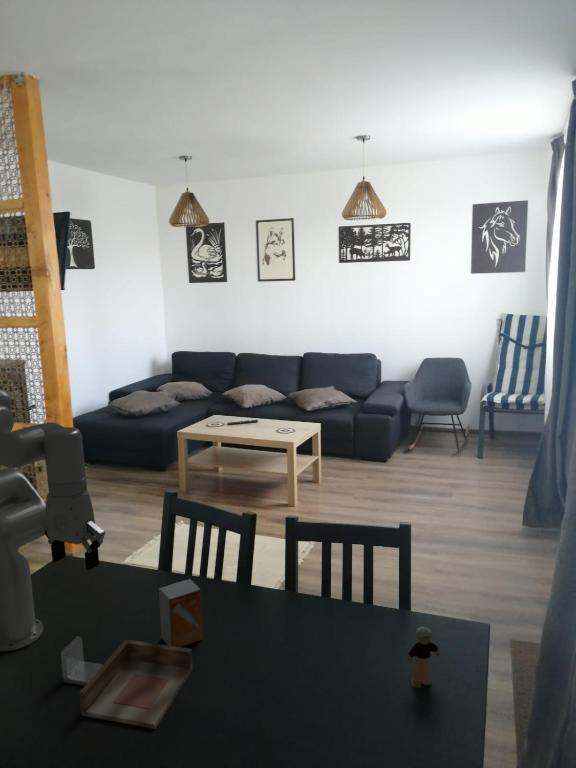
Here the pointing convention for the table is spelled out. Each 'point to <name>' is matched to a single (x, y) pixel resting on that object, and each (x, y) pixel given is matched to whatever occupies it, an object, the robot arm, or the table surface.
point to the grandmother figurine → (422, 657)
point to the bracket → (77, 664)
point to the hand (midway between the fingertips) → (75, 563)
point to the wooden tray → (137, 683)
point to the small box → (181, 613)
